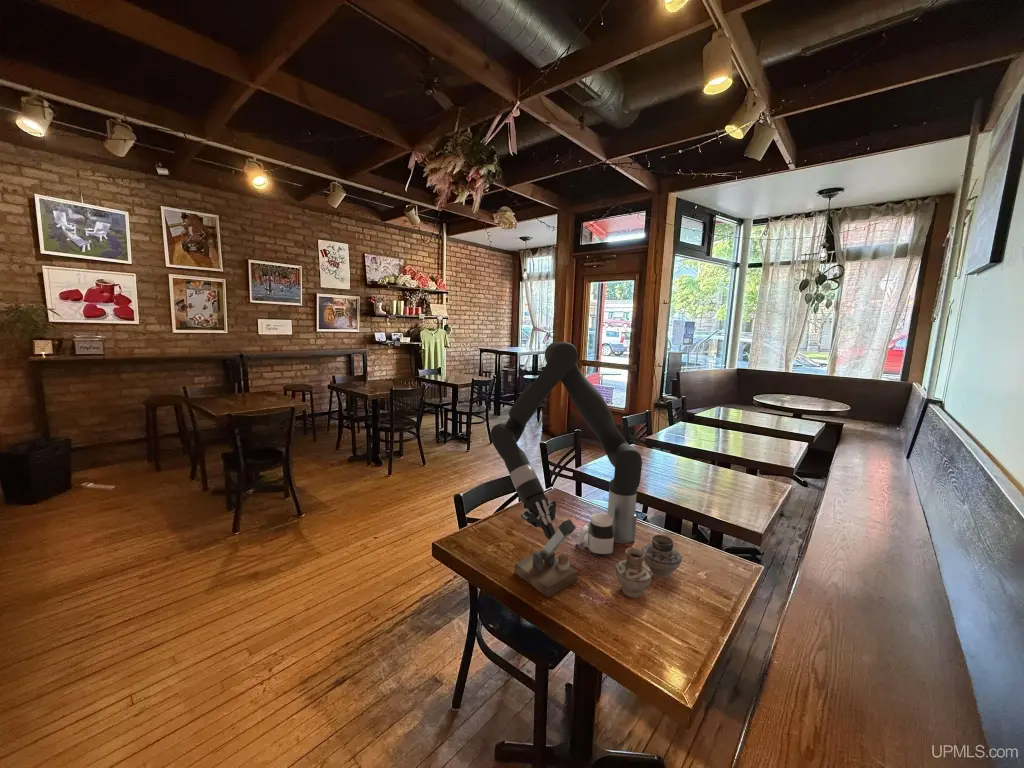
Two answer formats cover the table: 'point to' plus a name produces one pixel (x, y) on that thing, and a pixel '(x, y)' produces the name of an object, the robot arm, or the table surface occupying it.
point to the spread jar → (599, 535)
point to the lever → (557, 538)
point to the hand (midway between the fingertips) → (552, 537)
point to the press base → (546, 572)
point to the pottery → (657, 559)
